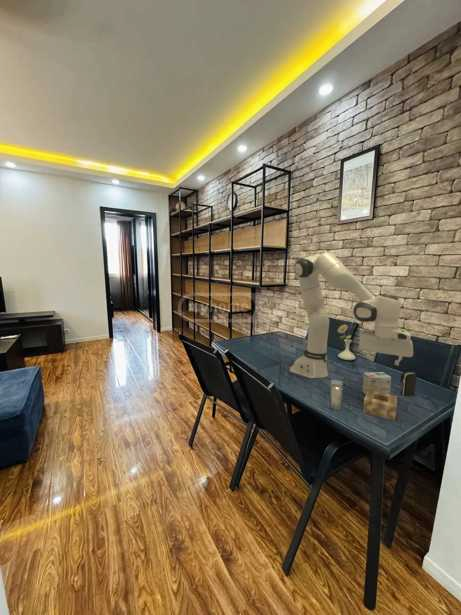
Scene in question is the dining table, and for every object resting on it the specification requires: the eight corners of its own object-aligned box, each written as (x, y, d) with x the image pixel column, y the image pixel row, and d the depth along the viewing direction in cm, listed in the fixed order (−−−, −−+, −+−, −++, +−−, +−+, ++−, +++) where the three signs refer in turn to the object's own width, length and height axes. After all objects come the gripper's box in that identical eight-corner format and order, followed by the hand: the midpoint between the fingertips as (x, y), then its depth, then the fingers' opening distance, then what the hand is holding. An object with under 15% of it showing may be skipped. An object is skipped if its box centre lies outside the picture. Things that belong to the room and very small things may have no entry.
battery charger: (408, 391, 134) (410, 370, 132) (415, 394, 130) (417, 373, 129) (397, 392, 132) (399, 371, 130) (404, 396, 128) (406, 374, 127)
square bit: (330, 399, 125) (331, 383, 124) (330, 394, 130) (331, 379, 129) (341, 400, 124) (342, 385, 122) (340, 396, 128) (341, 381, 127)
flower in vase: (351, 356, 188) (354, 323, 185) (357, 362, 177) (360, 326, 173) (333, 355, 189) (335, 322, 186) (338, 361, 178) (340, 326, 175)
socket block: (363, 412, 114) (364, 399, 113) (366, 400, 124) (367, 389, 123) (395, 420, 107) (396, 407, 106) (395, 408, 117) (397, 396, 116)
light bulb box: (381, 391, 134) (383, 371, 132) (390, 397, 127) (392, 377, 125) (361, 391, 133) (363, 371, 132) (368, 397, 127) (370, 377, 125)
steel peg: (329, 408, 117) (331, 387, 115) (331, 404, 120) (333, 384, 119) (339, 410, 115) (340, 389, 113) (341, 406, 118) (342, 386, 116)
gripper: (358, 330, 114) (356, 360, 116) (414, 336, 102) (411, 369, 104) (360, 328, 119) (359, 356, 121) (414, 333, 107) (411, 365, 109)
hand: (383, 362), depth 112 cm, fingers open, 8 cm apart
